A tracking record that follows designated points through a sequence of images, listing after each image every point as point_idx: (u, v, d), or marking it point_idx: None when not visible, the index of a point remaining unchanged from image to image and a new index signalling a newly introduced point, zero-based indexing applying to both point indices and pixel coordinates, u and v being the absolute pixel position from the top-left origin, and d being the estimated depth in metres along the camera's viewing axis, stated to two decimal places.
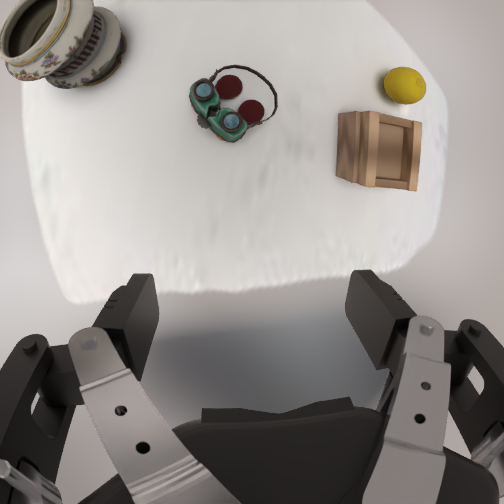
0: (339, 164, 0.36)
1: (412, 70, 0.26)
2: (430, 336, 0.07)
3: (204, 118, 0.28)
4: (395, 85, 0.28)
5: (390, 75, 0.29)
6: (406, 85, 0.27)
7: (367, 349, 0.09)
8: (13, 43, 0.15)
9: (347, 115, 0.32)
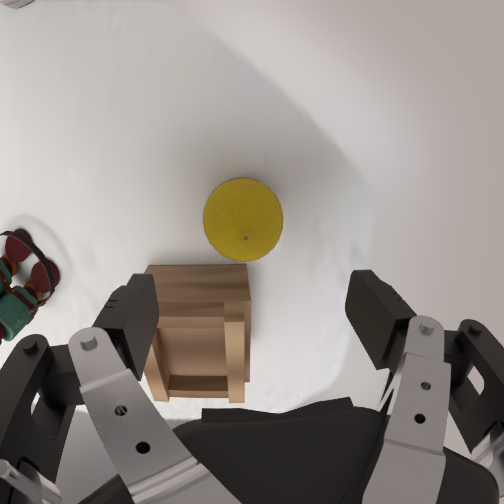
0: None
1: (238, 201, 0.17)
2: (430, 336, 0.07)
3: None
4: None
5: None
6: (218, 243, 0.17)
7: (367, 349, 0.09)
8: None
9: None
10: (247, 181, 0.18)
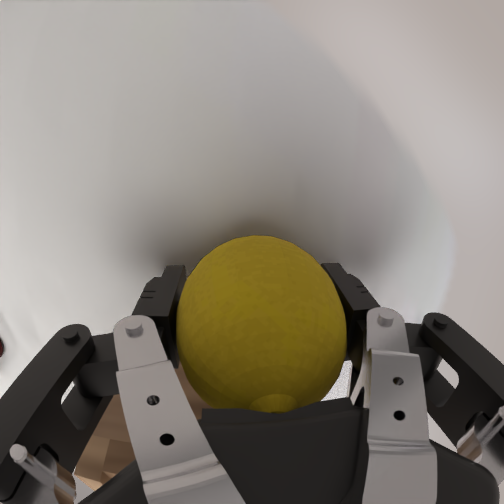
0: None
1: (256, 331, 0.06)
2: (387, 327, 0.07)
3: None
4: None
5: (178, 307, 0.09)
6: (210, 403, 0.07)
7: None
8: None
9: None
10: (273, 255, 0.08)
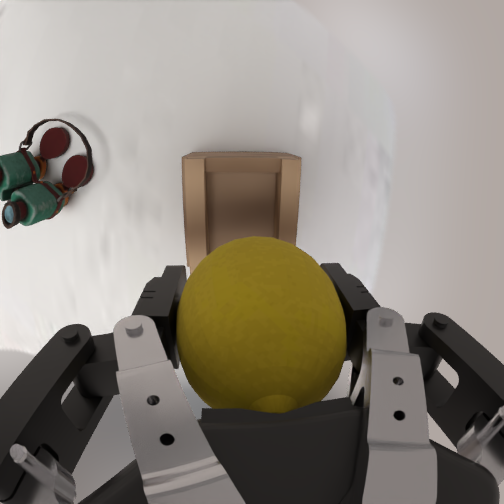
0: None
1: (256, 332, 0.06)
2: (387, 327, 0.07)
3: None
4: None
5: (178, 308, 0.09)
6: (210, 404, 0.07)
7: None
8: None
9: None
10: (273, 256, 0.08)
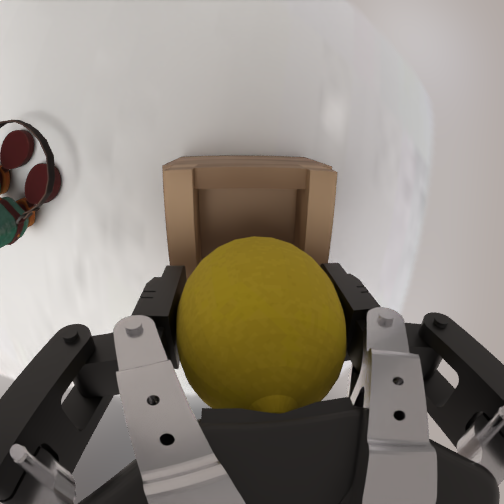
0: None
1: (256, 332, 0.06)
2: (387, 327, 0.07)
3: None
4: None
5: (178, 307, 0.09)
6: (210, 404, 0.07)
7: None
8: None
9: None
10: (273, 257, 0.08)
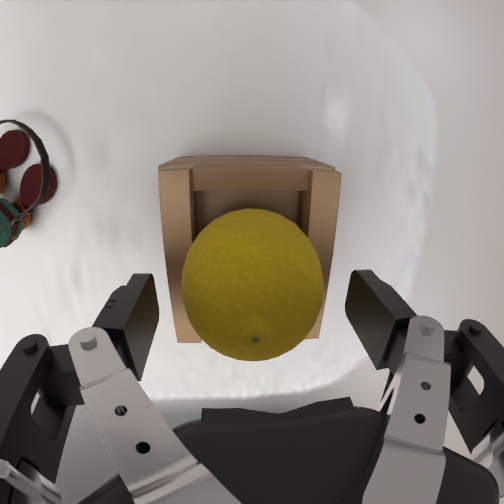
0: None
1: (239, 263, 0.08)
2: (430, 336, 0.07)
3: None
4: None
5: (184, 264, 0.11)
6: (206, 337, 0.09)
7: (367, 349, 0.09)
8: None
9: None
10: (257, 216, 0.10)
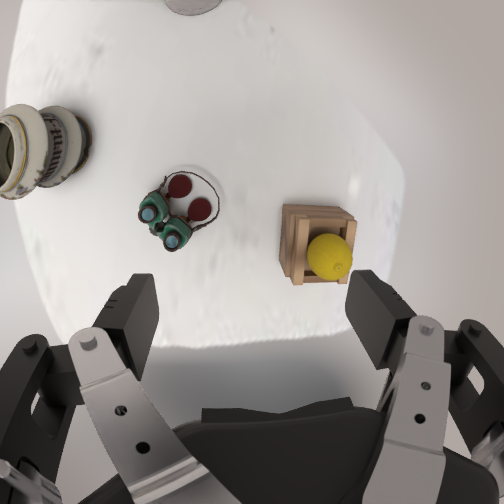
0: (281, 252, 0.43)
1: (333, 249, 0.31)
2: (430, 336, 0.07)
3: (154, 228, 0.36)
4: (312, 266, 0.33)
5: (310, 250, 0.34)
6: (322, 271, 0.32)
7: (367, 349, 0.09)
8: None
9: (286, 211, 0.39)
10: (334, 236, 0.33)
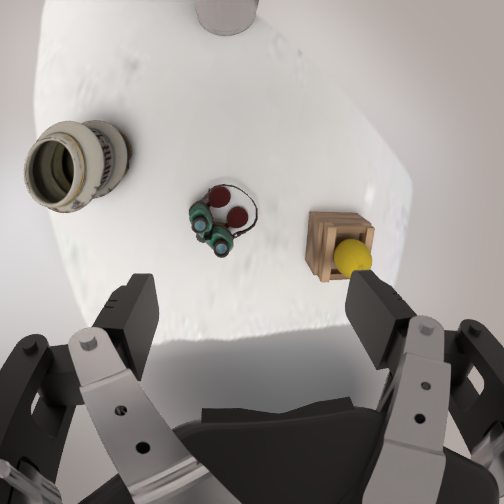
0: (307, 253, 0.49)
1: (358, 253, 0.37)
2: (430, 336, 0.07)
3: None
4: (339, 267, 0.39)
5: (337, 254, 0.40)
6: (348, 271, 0.38)
7: (367, 349, 0.09)
8: (34, 167, 0.28)
9: (314, 219, 0.45)
10: (357, 242, 0.39)
